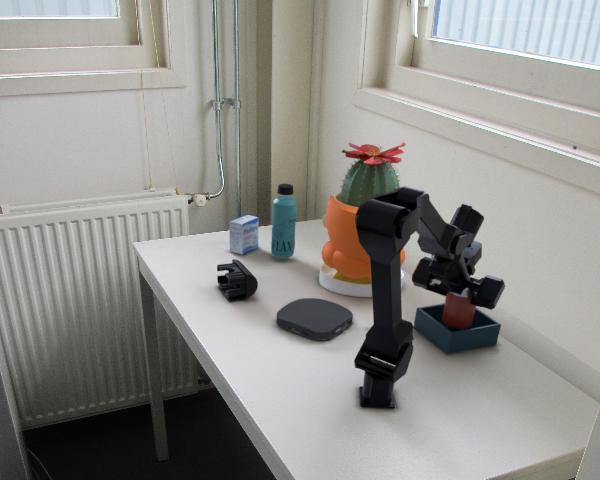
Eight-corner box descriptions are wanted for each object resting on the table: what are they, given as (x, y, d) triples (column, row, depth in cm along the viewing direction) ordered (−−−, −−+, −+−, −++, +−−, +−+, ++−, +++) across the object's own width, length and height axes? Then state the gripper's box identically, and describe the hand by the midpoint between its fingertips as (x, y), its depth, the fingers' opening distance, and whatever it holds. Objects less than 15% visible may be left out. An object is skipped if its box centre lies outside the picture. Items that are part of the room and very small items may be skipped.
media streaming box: (306, 303, 161) (306, 292, 160) (358, 321, 155) (359, 310, 153) (269, 325, 151) (269, 312, 149) (323, 345, 144) (324, 332, 143)
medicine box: (242, 255, 185) (242, 224, 180) (229, 251, 187) (228, 221, 182) (258, 247, 190) (259, 217, 186) (245, 243, 192) (246, 213, 188)
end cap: (258, 299, 162) (258, 273, 158) (229, 303, 159) (229, 276, 156) (243, 283, 169) (244, 257, 166) (216, 286, 167) (216, 260, 163)
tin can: (476, 331, 150) (487, 285, 144) (457, 338, 146) (466, 291, 140) (453, 319, 154) (462, 274, 148) (434, 326, 150) (442, 280, 145)
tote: (496, 344, 149) (501, 324, 146) (447, 354, 144) (451, 333, 141) (460, 319, 159) (464, 299, 156) (413, 327, 154) (416, 307, 151)
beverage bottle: (267, 260, 182) (269, 186, 171) (275, 252, 188) (277, 179, 177) (290, 264, 181) (293, 189, 170) (297, 256, 186) (301, 183, 175)
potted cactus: (317, 268, 180) (327, 130, 161) (400, 272, 181) (420, 135, 161) (319, 302, 162) (330, 152, 143) (411, 307, 163) (435, 158, 143)
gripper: (512, 242, 130) (520, 279, 144) (426, 220, 139) (441, 256, 153) (488, 292, 129) (497, 325, 143) (402, 266, 138) (419, 299, 152)
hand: (463, 299), depth 147 cm, fingers closed on tin can, 7 cm apart
